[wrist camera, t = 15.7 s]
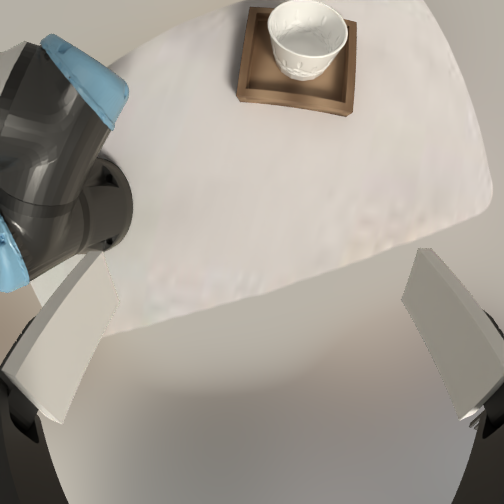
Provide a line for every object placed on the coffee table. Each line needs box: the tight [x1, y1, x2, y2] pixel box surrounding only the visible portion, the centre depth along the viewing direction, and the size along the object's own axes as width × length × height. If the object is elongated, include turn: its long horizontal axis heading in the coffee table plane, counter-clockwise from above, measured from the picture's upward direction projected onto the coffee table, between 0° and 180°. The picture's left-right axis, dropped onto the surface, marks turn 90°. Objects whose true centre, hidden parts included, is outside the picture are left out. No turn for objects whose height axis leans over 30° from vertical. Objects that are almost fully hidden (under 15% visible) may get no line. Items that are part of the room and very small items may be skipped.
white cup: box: [268, 0, 348, 81], centre depth 23 cm, size 8×8×10 cm
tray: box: [236, 7, 357, 117], centre depth 27 cm, size 14×14×4 cm
